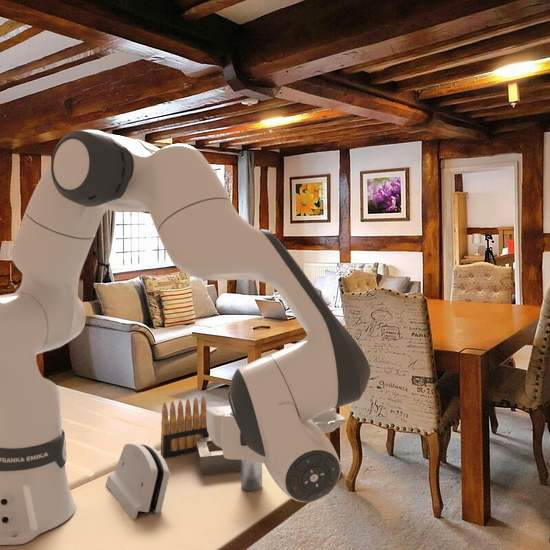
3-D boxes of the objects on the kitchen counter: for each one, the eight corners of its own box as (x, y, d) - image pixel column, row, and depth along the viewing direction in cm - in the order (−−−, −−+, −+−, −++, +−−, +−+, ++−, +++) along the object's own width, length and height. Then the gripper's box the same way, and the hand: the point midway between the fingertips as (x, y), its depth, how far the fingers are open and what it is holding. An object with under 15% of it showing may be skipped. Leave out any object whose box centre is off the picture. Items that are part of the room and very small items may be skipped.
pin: (243, 492, 107) (242, 430, 106) (239, 483, 111) (238, 423, 109) (264, 490, 108) (263, 428, 106) (260, 481, 111) (258, 421, 110)
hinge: (105, 483, 111) (120, 433, 112) (127, 485, 114) (142, 436, 115) (133, 520, 97) (150, 462, 98) (158, 521, 100) (175, 465, 101)
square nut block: (200, 476, 114) (200, 456, 113) (196, 456, 123) (195, 438, 123) (250, 470, 116) (249, 451, 116) (241, 451, 126) (241, 434, 125)
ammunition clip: (163, 458, 123) (161, 404, 122) (160, 455, 124) (159, 402, 123) (210, 449, 128) (208, 396, 126) (207, 446, 129) (205, 394, 128)
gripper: (349, 403, 85) (320, 379, 99) (212, 417, 80) (201, 389, 94) (349, 444, 86) (321, 415, 99) (213, 460, 81) (203, 427, 94)
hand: (262, 403), depth 96 cm, fingers open, 8 cm apart
